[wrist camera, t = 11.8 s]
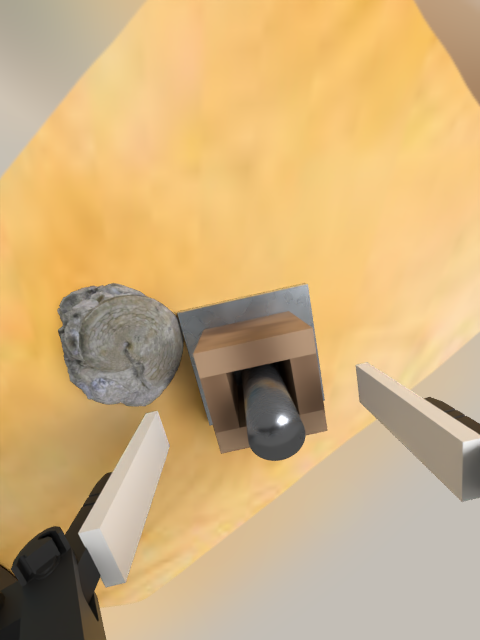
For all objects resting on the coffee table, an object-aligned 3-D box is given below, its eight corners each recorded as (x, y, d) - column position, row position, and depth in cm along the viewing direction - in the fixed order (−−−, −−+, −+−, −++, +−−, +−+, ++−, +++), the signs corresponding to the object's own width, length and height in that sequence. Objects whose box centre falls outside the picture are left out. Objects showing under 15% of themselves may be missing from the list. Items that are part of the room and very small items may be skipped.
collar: (223, 404, 22) (221, 453, 16) (203, 329, 20) (192, 354, 14) (301, 387, 22) (327, 430, 16) (288, 310, 20) (312, 327, 14)
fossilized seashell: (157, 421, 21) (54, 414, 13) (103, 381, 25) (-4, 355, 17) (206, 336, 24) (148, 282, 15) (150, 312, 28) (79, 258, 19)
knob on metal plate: (210, 419, 24) (193, 544, 13) (179, 311, 21) (125, 355, 10) (320, 394, 23) (396, 500, 13) (304, 283, 21) (383, 298, 10)
